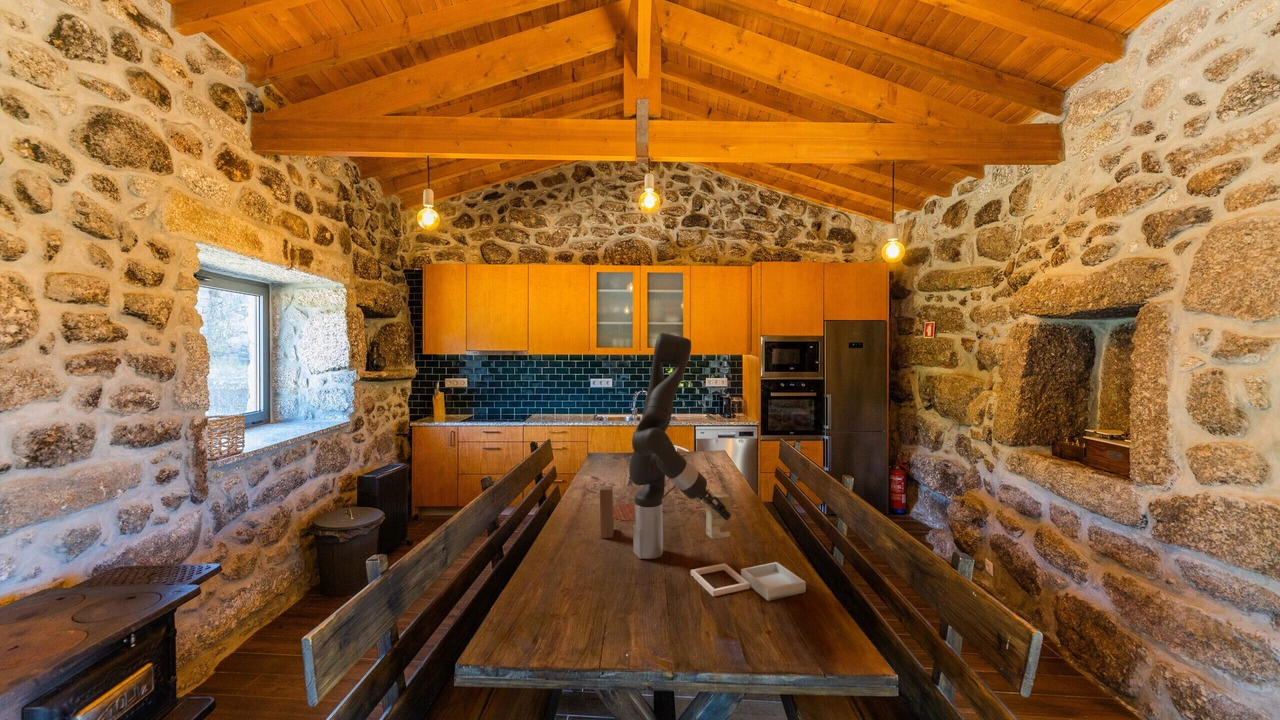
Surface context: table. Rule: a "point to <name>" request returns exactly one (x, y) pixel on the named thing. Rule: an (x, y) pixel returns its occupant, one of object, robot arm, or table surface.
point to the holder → (722, 590)
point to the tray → (773, 581)
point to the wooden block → (606, 512)
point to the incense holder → (627, 510)
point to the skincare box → (718, 518)
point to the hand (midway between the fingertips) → (723, 514)
